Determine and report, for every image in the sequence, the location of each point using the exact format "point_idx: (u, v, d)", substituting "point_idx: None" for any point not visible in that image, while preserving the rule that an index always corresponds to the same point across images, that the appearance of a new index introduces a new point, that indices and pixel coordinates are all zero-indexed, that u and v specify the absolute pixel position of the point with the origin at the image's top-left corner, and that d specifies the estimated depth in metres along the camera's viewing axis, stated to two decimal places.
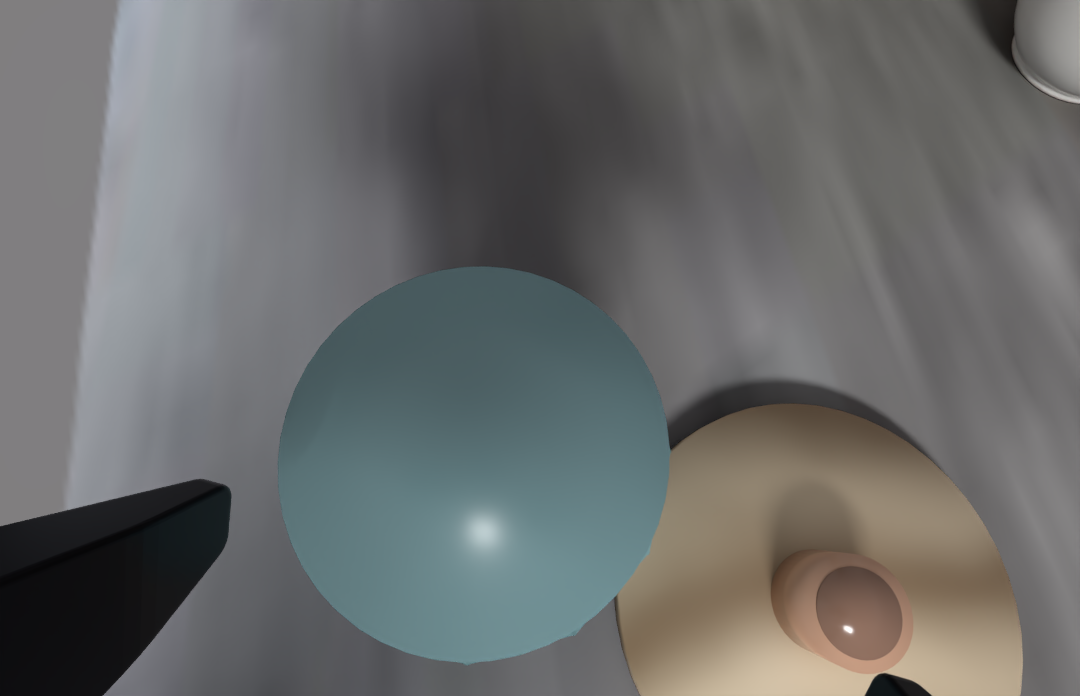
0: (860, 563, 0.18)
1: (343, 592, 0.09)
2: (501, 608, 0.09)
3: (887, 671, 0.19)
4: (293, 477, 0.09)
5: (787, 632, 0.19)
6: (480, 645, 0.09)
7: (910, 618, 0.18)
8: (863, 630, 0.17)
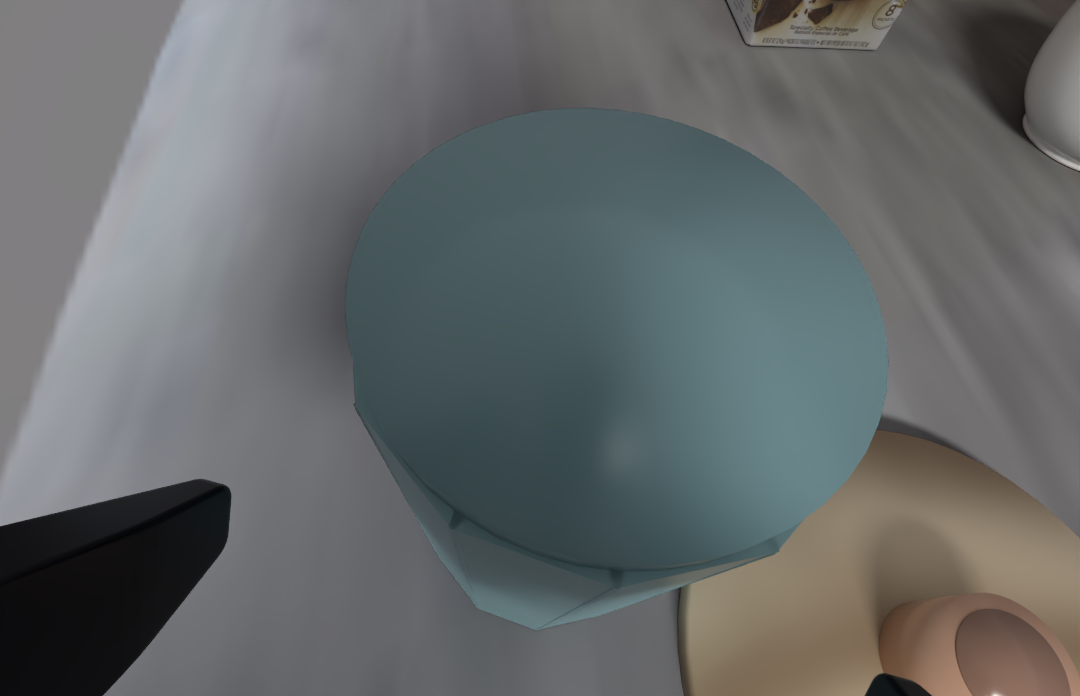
0: (1000, 605, 0.14)
1: (436, 450, 0.06)
2: (679, 487, 0.06)
3: None
4: (367, 300, 0.07)
5: None
6: (653, 538, 0.05)
7: (1076, 682, 0.14)
8: (1023, 695, 0.13)
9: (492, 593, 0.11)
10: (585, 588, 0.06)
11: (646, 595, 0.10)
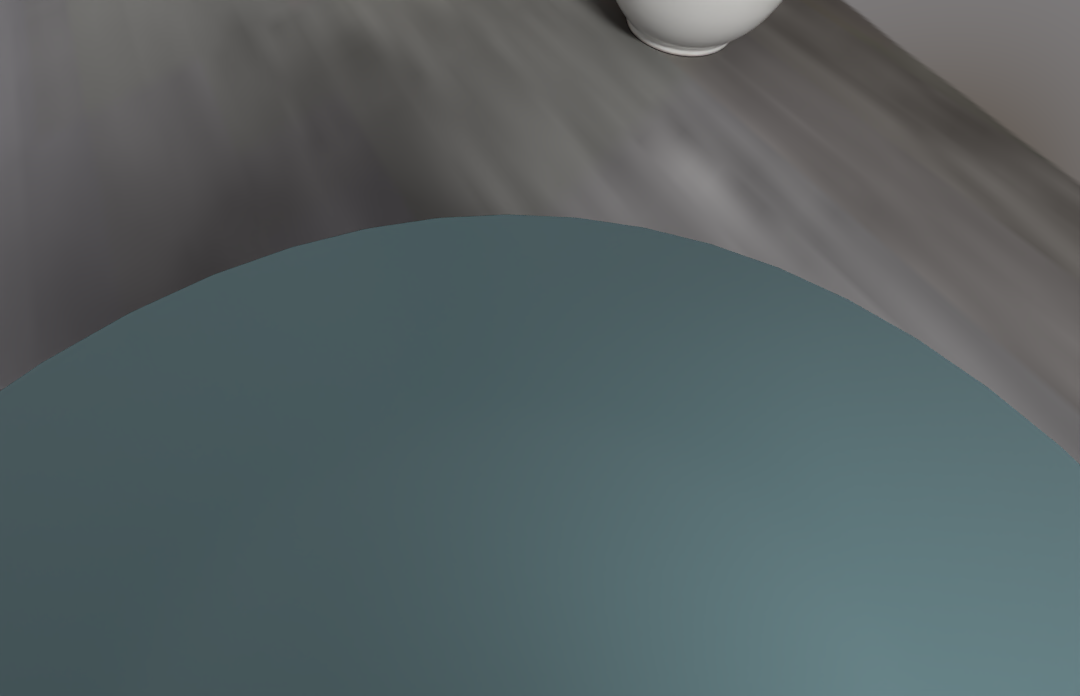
0: None
1: None
2: None
3: None
4: None
5: None
6: None
7: None
8: None
9: None
10: None
11: None
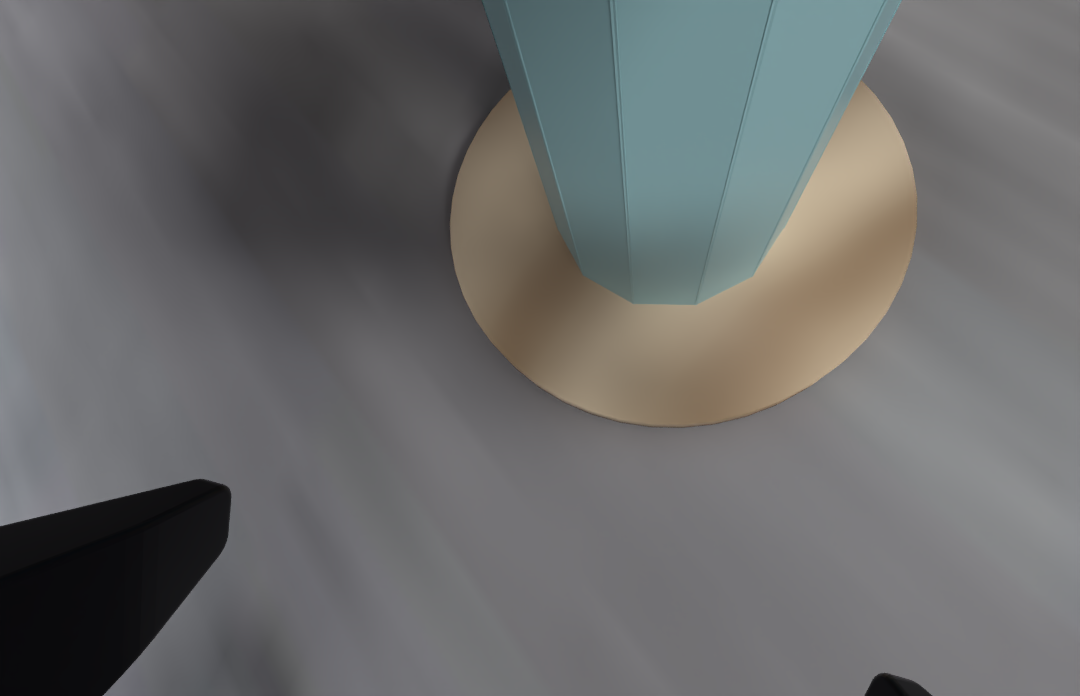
0: None
1: None
2: None
3: None
4: None
5: None
6: None
7: None
8: None
9: (650, 188, 0.10)
10: None
11: (820, 97, 0.09)
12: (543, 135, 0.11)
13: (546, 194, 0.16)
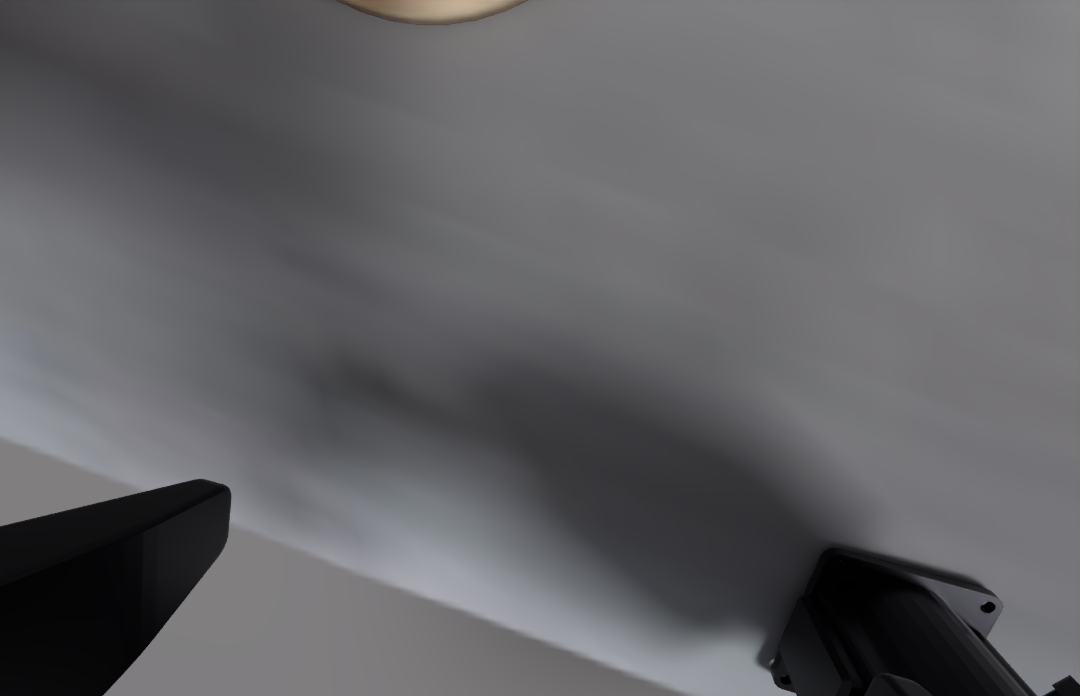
0: None
1: None
2: None
3: None
4: None
5: None
6: None
7: None
8: None
9: None
10: None
11: None
12: None
13: None
